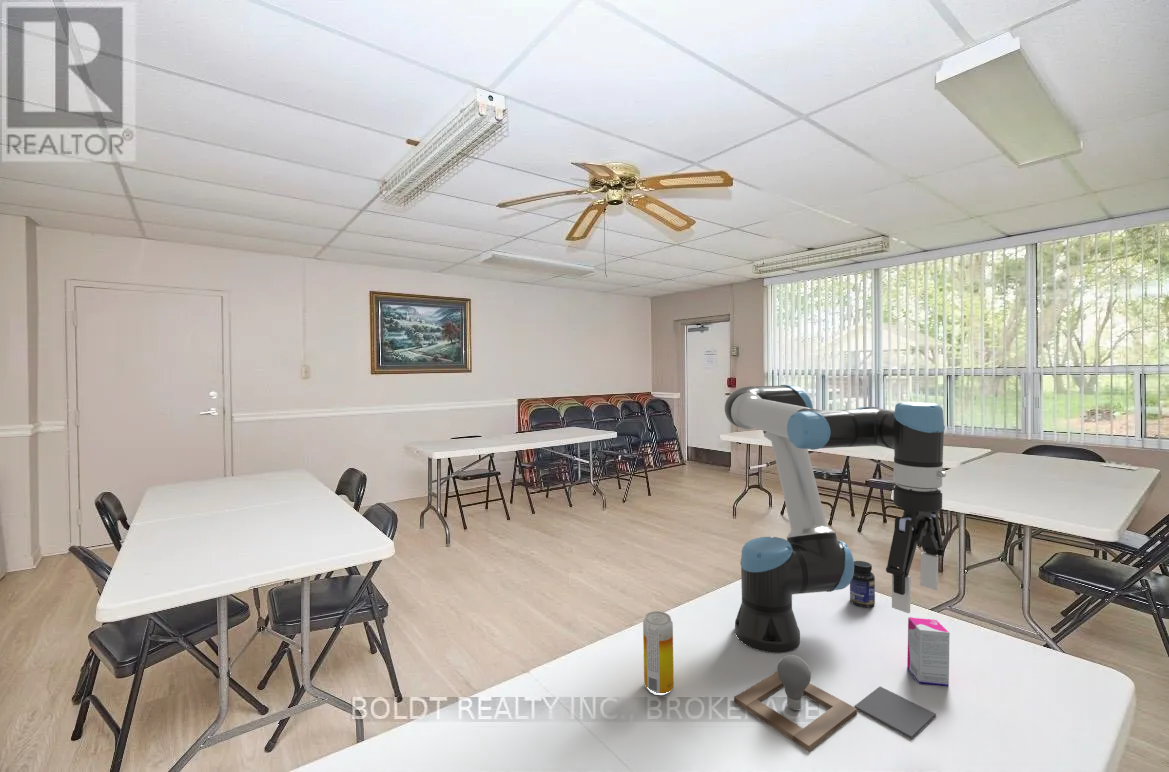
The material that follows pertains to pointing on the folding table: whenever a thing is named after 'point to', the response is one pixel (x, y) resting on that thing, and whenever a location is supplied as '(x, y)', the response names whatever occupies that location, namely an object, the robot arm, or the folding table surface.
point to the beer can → (658, 652)
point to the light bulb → (794, 679)
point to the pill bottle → (862, 585)
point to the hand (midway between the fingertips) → (915, 598)
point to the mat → (895, 712)
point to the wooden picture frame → (802, 736)
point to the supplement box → (928, 652)
